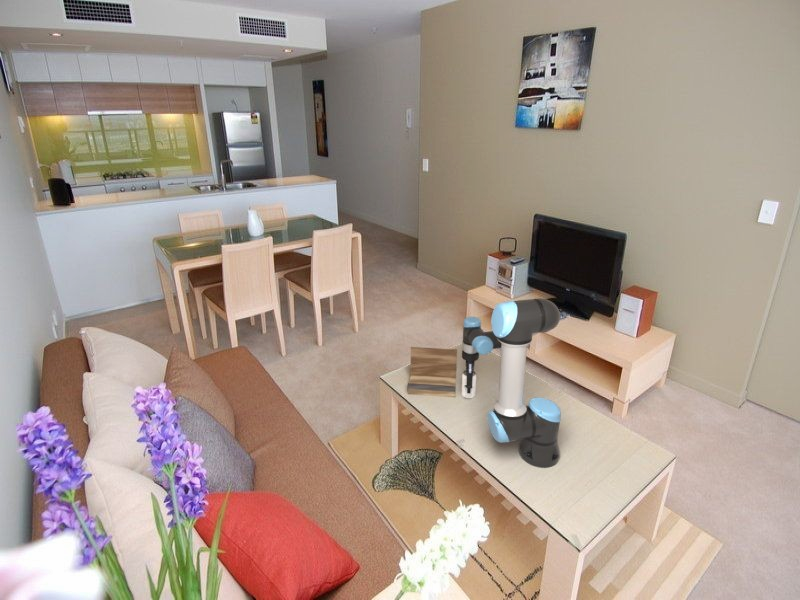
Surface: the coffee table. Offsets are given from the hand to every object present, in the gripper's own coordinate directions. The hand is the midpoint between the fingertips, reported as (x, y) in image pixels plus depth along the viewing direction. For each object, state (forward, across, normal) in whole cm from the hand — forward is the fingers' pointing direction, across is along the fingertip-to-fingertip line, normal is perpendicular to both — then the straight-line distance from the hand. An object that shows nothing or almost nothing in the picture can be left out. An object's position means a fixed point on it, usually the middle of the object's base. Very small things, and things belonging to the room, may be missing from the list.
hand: (468, 393), depth 215 cm
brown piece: (+1, +4, +17) cm, 17 cm away
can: (+1, 0, 0) cm, 1 cm away
